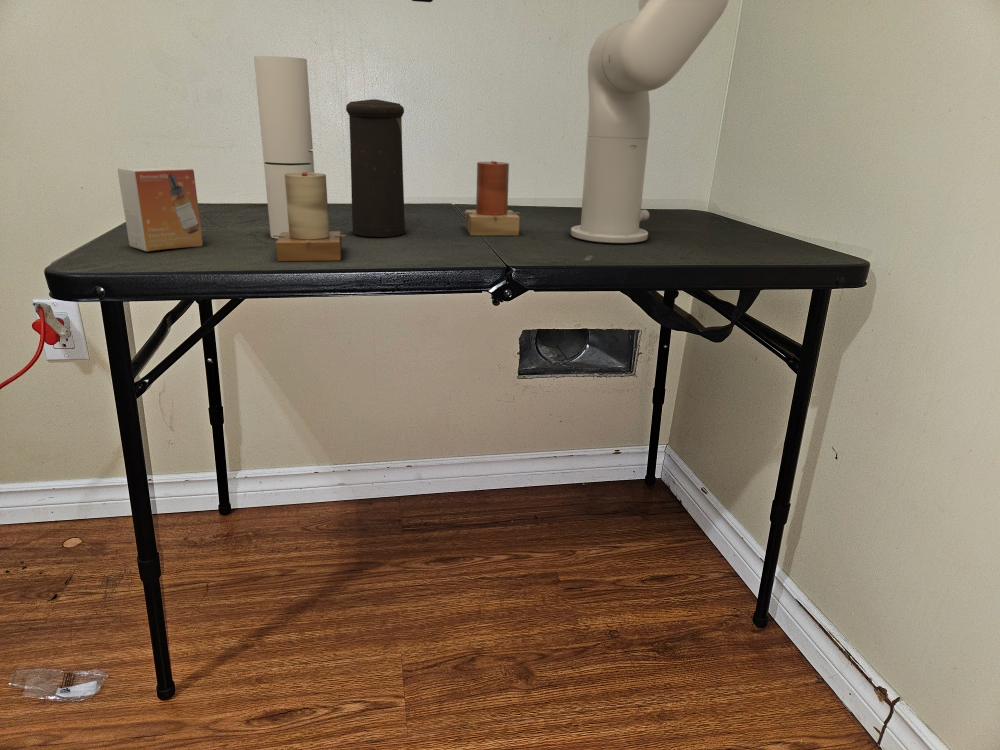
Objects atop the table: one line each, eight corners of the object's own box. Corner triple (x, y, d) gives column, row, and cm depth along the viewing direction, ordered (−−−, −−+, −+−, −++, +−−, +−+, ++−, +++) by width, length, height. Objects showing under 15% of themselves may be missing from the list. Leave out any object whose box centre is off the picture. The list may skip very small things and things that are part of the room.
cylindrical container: (324, 232, 108) (313, 60, 99) (308, 240, 102) (295, 56, 93) (281, 230, 109) (266, 59, 100) (262, 238, 102) (245, 55, 93)
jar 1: (291, 232, 93) (286, 169, 90) (330, 232, 94) (326, 170, 91) (288, 239, 89) (282, 173, 86) (329, 239, 90) (324, 174, 87)
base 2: (460, 226, 118) (460, 208, 117) (514, 226, 119) (514, 208, 118) (466, 236, 109) (466, 216, 108) (523, 236, 111) (524, 216, 110)
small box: (145, 253, 90) (132, 170, 86) (128, 246, 94) (115, 167, 90) (204, 246, 96) (194, 168, 92) (186, 240, 99) (176, 165, 95)
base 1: (278, 248, 96) (276, 229, 95) (346, 247, 98) (345, 229, 97) (271, 262, 87) (269, 241, 86) (346, 261, 89) (345, 241, 88)
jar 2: (474, 210, 115) (475, 159, 112) (504, 210, 116) (506, 160, 113) (478, 215, 110) (479, 161, 107) (509, 215, 111) (511, 162, 108)
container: (416, 232, 111) (415, 100, 104) (386, 240, 104) (381, 99, 97) (372, 227, 115) (368, 99, 107) (339, 234, 107) (332, 97, 100)
